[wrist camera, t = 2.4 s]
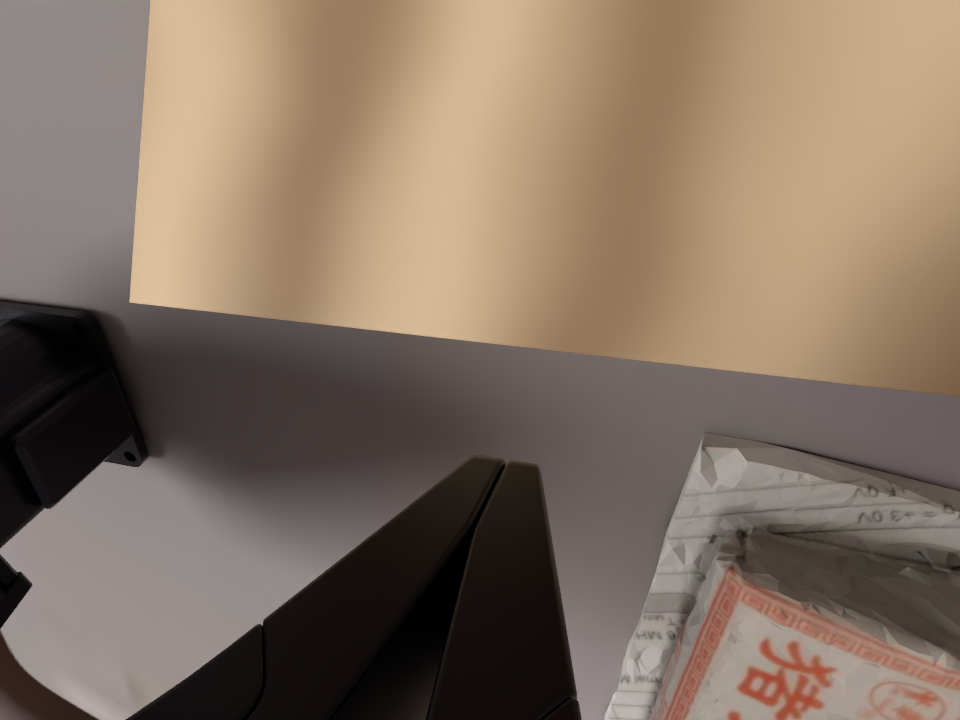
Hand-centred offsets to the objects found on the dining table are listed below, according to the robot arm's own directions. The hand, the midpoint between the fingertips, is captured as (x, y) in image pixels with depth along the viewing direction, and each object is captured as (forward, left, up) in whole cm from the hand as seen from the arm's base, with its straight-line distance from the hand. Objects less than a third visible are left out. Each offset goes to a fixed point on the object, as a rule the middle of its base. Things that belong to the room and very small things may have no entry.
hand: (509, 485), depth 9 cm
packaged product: (+7, -16, -11) cm, 20 cm away
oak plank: (0, +1, -8) cm, 8 cm away
